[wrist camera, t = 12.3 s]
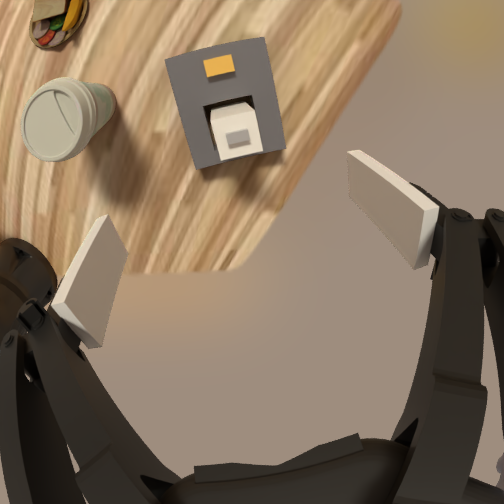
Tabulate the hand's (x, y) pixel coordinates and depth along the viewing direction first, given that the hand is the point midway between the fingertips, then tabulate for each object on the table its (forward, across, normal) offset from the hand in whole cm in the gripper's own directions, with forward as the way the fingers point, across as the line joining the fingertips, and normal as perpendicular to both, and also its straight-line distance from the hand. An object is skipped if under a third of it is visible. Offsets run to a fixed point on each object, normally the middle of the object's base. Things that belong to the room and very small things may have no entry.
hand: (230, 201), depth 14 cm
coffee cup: (+23, -14, +8) cm, 28 cm away
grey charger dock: (+22, +2, +3) cm, 23 cm away
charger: (+22, +2, 0) cm, 22 cm away
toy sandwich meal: (+23, -16, +24) cm, 37 cm away
